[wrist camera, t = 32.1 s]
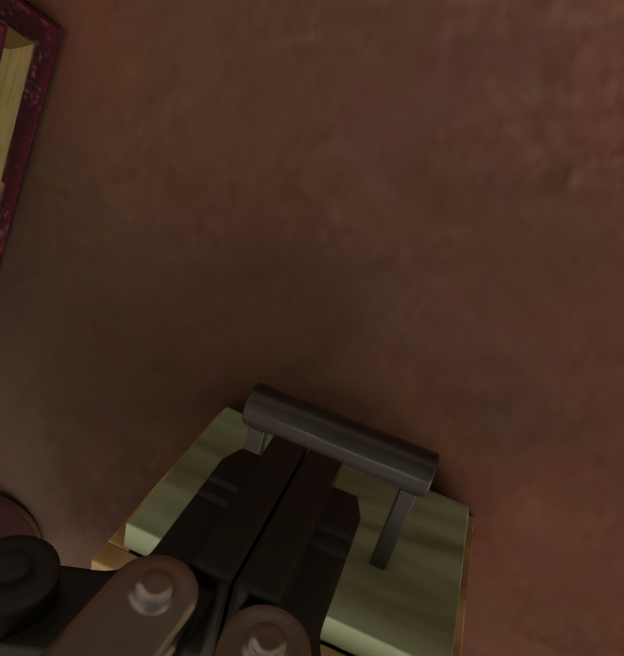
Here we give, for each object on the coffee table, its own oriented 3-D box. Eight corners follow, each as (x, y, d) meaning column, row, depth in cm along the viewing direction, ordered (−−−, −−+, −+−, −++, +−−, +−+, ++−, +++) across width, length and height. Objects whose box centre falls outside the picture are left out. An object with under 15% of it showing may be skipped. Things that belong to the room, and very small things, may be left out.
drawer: (246, 306, 24) (138, 401, 17) (519, 409, 22) (518, 561, 15) (187, 594, 33) (101, 732, 26) (379, 685, 31) (339, 861, 24)
